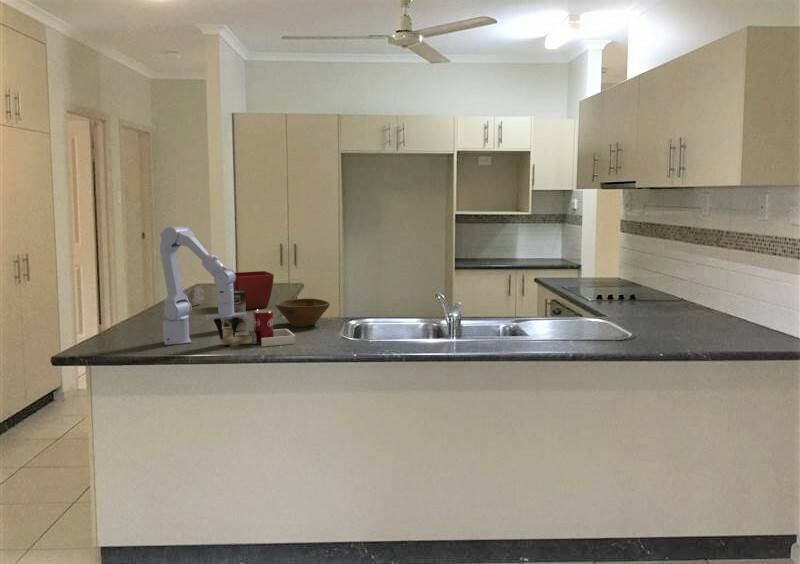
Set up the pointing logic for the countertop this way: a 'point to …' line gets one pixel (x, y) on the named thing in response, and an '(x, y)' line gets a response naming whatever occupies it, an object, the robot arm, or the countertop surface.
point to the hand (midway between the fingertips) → (227, 338)
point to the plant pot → (255, 287)
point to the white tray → (279, 338)
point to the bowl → (302, 310)
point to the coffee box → (237, 311)
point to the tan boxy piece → (237, 337)
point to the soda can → (263, 324)
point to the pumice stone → (196, 296)
